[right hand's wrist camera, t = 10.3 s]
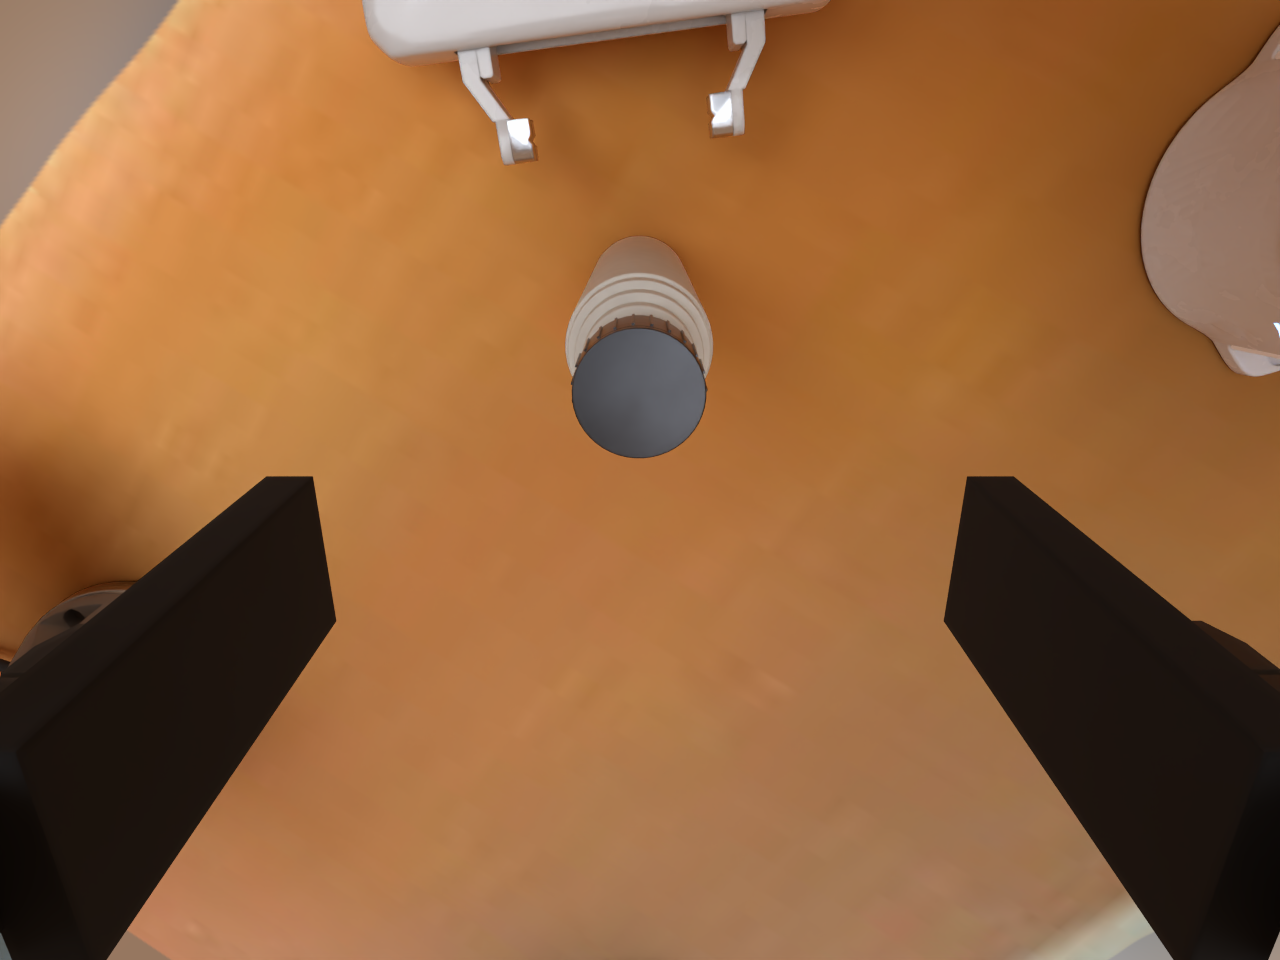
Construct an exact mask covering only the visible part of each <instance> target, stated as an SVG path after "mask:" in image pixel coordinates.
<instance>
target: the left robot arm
mask: <svg viewBox="0 0 1280 960" xmlns="http://www.w3.org/2000/svg"><path fill="white" fill-rule="evenodd" d="M830 1H831V0H362V4H363V10H364V16H365V21H366V26H367V30H368V33H369V36H370V38H371V39H372V41H373V42H374V43H375V44H376V45H377V46H378V47H379V48H380V49H381V50H382V51H383V52H384V53H385V54H386V55H387V56H388V57H390V58H391V59H392V60H394V61H396V62H398V63H400V64H403V65H406V66H410V67H415V66H424V65H431V64H438V63H446V62H453V61H459V64H460V70H461V75H462V81H463V83H464V84H465V86H466V87H467V88H468V90H469V91H470V92H471V94H472V95H473V96H474V98H475V99H476V100H477V102H478V103H479V104H480V106H481V107H482V108H483V110H484V111H485V112H486V114H487V115H488V116H489V118H490V119H491V120H492V122H494V123H496V128H497V134H498V140H499V146H500V151H501V157H502V160H503V163H504V165H514V164H522V163H528V162H535V161H538V150H537V146H536V145H535V143H534V142H533V140H534V138H535V130H534V124H533V120H530V119H529V118H524V119H515V120H514V119H513V117H512V116H511V114H510V113H509V112H508V110H507V109H506V108H505V106H504V105H503V103H502V102H501V101H500V99H499V98H498V96H497V95H496V94H495V92H494V91H493V89H492V88H491V87H490V85H489V82H490V83H492V84H494V83H500V81H501V73H500V67H499V60H498V55H504V54H512V53H519V52H526V51H534V50H541V49H548V48H556V47H563V46H570V45H578V44H585V43H592V42H600V41H607V40H614V39H622V38H629V37H636V36H644V35H651V34H658V33H666V32H673V31H680V30H688V29H695V28H702V27H710V26H717V25H724V24H726V28H727V40H728V49H729V50H730V51H739V49H740V48H741V53H740V56H739V58H738V61H737V63H736V66H735V68H734V70H733V73H732V75H731V78H730V80H729V82H728V85H727V87H726V90H725V92H719V93H713V94H709V95H708V96H707V98H706V99H707V113H708V115H709V116H710V117H711V120H710V122H709V124H708V125H709V135H710V139H713V138H723V137H731V136H738V135H743V134H744V129H745V121H744V105H743V90H744V89H745V88H746V86H747V83H748V81H749V79H750V76H751V74H752V72H753V69H754V67H755V65H756V62H757V60H758V58H759V55H760V53H761V51H762V48H763V46H764V44H765V42H766V40H765V20H764V19H768V18H776V17H783V16H790V15H798V14H805V13H812V12H816V11H818V10H820V9H822V8H823V7H824V6H825V5H827V4H828V3H829V2H830ZM1141 248H1142V256H1143V262H1144V266H1145V270H1146V273H1147V276H1148V279H1149V281H1150V283H1151V286H1152V287H1153V289H1154V291H1155V293H1156V295H1157V296H1158V298H1159V299H1160V300H1161V302H1162V303H1163V304H1164V305H1165V307H1166V308H1167V309H1168V310H1169V311H1170V312H1171V313H1172V314H1174V315H1175V316H1176V317H1177V318H1178V319H1180V320H1181V321H1183V322H1184V323H1186V324H1187V325H1189V326H1191V327H1193V328H1195V329H1196V330H1198V331H1200V332H1202V333H1203V334H1205V335H1206V336H1207V337H1209V338H1210V339H1211V340H1212V341H1213V343H1214V344H1215V346H1216V348H1217V350H1218V352H1219V353H1220V355H1221V357H1222V358H1223V360H1224V361H1225V363H1226V364H1227V365H1228V367H1229V368H1230V369H1231V370H1232V371H1234V372H1235V373H1238V374H1241V375H1247V376H1253V377H1257V376H1263V375H1267V374H1270V373H1274V372H1277V371H1280V25H1279V26H1278V28H1277V29H1276V30H1275V31H1274V33H1273V34H1272V35H1271V37H1270V38H1269V40H1268V41H1267V43H1266V44H1265V45H1264V47H1263V48H1262V50H1261V51H1260V53H1259V54H1258V56H1257V57H1256V59H1255V60H1254V62H1253V63H1252V64H1251V65H1250V66H1249V67H1248V68H1247V69H1246V70H1245V71H1244V72H1243V73H1242V74H1241V75H1239V76H1238V77H1237V78H1236V79H1235V80H1233V81H1232V82H1231V83H1229V84H1228V85H1227V86H1225V87H1224V88H1223V89H1222V90H1220V91H1219V92H1218V93H1216V94H1215V95H1214V96H1213V97H1212V98H1210V99H1209V100H1208V101H1207V102H1206V103H1205V104H1204V105H1203V106H1202V107H1201V108H1199V109H1198V110H1197V111H1196V113H1195V114H1194V115H1193V116H1192V117H1191V118H1190V119H1189V120H1188V121H1187V123H1186V124H1185V125H1184V126H1183V127H1182V129H1181V130H1180V131H1179V133H1178V134H1177V135H1176V137H1175V138H1174V139H1173V141H1172V142H1171V144H1170V146H1169V147H1168V149H1167V150H1166V152H1165V154H1164V156H1163V157H1162V159H1161V161H1160V163H1159V165H1158V167H1157V169H1156V172H1155V174H1154V176H1153V179H1152V181H1151V184H1150V187H1149V190H1148V193H1147V197H1146V201H1145V205H1144V210H1143V216H1142V224H1141Z"/></svg>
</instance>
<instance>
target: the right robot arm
mask: <svg viewBox="0 0 1280 960" xmlns="http://www.w3.org/2000/svg"><path fill="white" fill-rule="evenodd" d="M335 622H336V617H335V610H334V604H333V598H332V592H331V586H330V580H329V573H328V567H327V561H326V555H325V549H324V543H323V536H322V530H321V524H320V518H319V512H318V506H317V499H316V493H315V487H314V481H313V477H265V478H264V479H263V480H262V481H260V482H259V483H258V484H257V485H255V486H254V487H253V488H252V489H250V490H249V491H248V492H247V493H246V494H244V495H243V496H242V497H241V498H239V499H238V500H237V501H236V502H234V503H233V504H232V505H231V506H229V507H228V508H227V509H226V510H225V511H223V512H222V513H221V514H220V515H218V516H217V517H216V518H215V519H213V520H212V521H211V522H210V523H209V524H207V525H206V526H205V527H204V528H202V529H201V530H200V531H199V532H197V533H196V534H195V535H194V536H193V537H191V538H190V539H189V540H188V541H186V542H185V543H184V544H183V545H181V546H180V547H179V548H178V549H176V550H175V551H174V552H173V553H172V554H170V555H169V556H168V557H167V558H165V559H164V560H163V561H162V562H160V563H159V564H158V565H157V566H156V567H154V568H153V569H152V570H151V571H149V572H148V573H147V574H146V575H144V576H143V577H142V578H141V579H140V580H138V581H137V582H124V581H123V582H110V583H104V584H99V585H95V586H91V587H88V588H86V589H83V590H81V591H79V592H77V593H75V594H73V595H71V596H70V597H68V598H66V599H65V600H64V601H62V602H61V603H59V604H58V605H57V606H55V607H54V608H53V609H51V610H50V611H49V612H48V613H46V614H45V615H44V616H43V617H42V618H41V619H40V620H39V621H38V622H37V623H36V625H35V626H34V627H33V628H32V629H31V630H30V632H29V633H28V634H27V636H26V637H25V639H24V641H23V642H22V644H21V646H20V647H19V649H18V651H17V652H16V654H15V656H14V658H13V659H12V661H11V662H9V661H6V660H3V659H0V671H1V677H0V960H107V958H108V957H109V955H110V954H111V952H112V951H113V949H114V948H115V946H116V945H117V943H118V942H119V941H120V939H121V938H122V936H123V935H124V933H125V932H126V930H127V929H128V927H129V926H130V924H131V923H132V921H133V920H134V918H135V917H136V915H137V914H138V913H139V911H140V910H141V908H142V907H143V905H144V904H145V902H146V901H147V899H148V898H149V896H150V895H151V893H152V892H153V890H154V889H155V887H156V886H157V885H158V883H159V882H160V880H161V879H162V877H163V876H164V874H165V873H166V871H167V870H168V868H169V867H170V865H171V864H172V862H173V861H174V859H175V858H176V857H177V855H178V854H179V852H180V851H181V849H182V848H183V846H184V845H185V843H186V842H187V840H188V839H189V837H190V836H191V834H192V833H193V831H194V830H195V828H196V827H197V826H198V824H199V823H200V821H201V820H202V818H203V817H204V815H205V814H206V812H207V811H208V809H209V808H210V806H211V805H212V803H213V802H214V800H215V799H216V798H217V796H218V795H219V793H220V792H221V790H222V789H223V787H224V786H225V784H226V783H227V781H228V780H229V778H230V777H231V775H232V774H233V772H234V771H235V770H236V768H237V767H238V765H239V764H240V762H241V761H242V759H243V758H244V756H245V755H246V753H247V752H248V750H249V749H250V747H251V746H252V744H253V743H254V742H255V740H256V739H257V737H258V736H259V734H260V733H261V731H262V730H263V728H264V727H265V725H266V724H267V722H268V721H269V719H270V718H271V716H272V715H273V714H274V712H275V711H276V709H277V708H278V706H279V705H280V703H281V702H282V700H283V699H284V697H285V696H286V694H287V693H288V691H289V690H290V688H291V687H292V686H293V684H294V683H295V681H296V680H297V678H298V677H299V675H300V674H301V672H302V671H303V669H304V668H305V666H306V665H307V663H308V662H309V660H310V659H311V658H312V656H313V655H314V653H315V652H316V650H317V649H318V647H319V646H320V644H321V643H322V641H323V640H324V638H325V637H326V635H327V634H328V632H329V631H330V630H331V628H332V627H333V625H334V624H335ZM944 622H945V624H946V625H947V627H948V628H949V630H950V631H951V632H952V634H953V635H954V637H955V638H956V640H957V641H958V643H959V644H960V646H961V647H962V649H963V650H964V652H965V653H966V655H967V656H968V658H969V659H970V660H971V662H972V663H973V665H974V666H975V668H976V669H977V671H978V672H979V674H980V675H981V677H982V678H983V680H984V681H985V683H986V684H987V686H988V687H989V688H990V690H991V691H992V693H993V694H994V696H995V697H996V699H997V700H998V702H999V703H1000V705H1001V706H1002V708H1003V709H1004V711H1005V712H1006V714H1007V715H1008V716H1009V718H1010V719H1011V721H1012V722H1013V724H1014V725H1015V727H1016V728H1017V730H1018V731H1019V733H1020V734H1021V736H1022V737H1023V739H1024V740H1025V742H1026V743H1027V744H1028V746H1029V747H1030V749H1031V750H1032V752H1033V753H1034V755H1035V756H1036V758H1037V759H1038V761H1039V762H1040V764H1041V765H1042V767H1043V768H1044V770H1045V771H1046V772H1047V774H1048V775H1049V777H1050V778H1051V780H1052V781H1053V783H1054V784H1055V786H1056V787H1057V789H1058V790H1059V792H1060V793H1061V795H1062V796H1063V798H1064V799H1065V800H1066V802H1067V803H1068V805H1069V806H1070V808H1071V809H1072V811H1073V812H1074V814H1075V815H1076V817H1077V818H1078V820H1079V821H1080V823H1081V824H1082V826H1083V827H1084V828H1085V830H1086V831H1087V833H1088V834H1089V836H1090V837H1091V839H1092V840H1093V842H1094V843H1095V845H1096V846H1097V848H1098V849H1099V851H1100V852H1101V854H1102V855H1103V856H1104V858H1105V859H1106V861H1107V862H1108V864H1109V865H1110V867H1111V868H1112V870H1113V871H1114V873H1115V874H1116V876H1117V877H1118V879H1119V880H1120V882H1121V883H1122V884H1123V886H1124V887H1125V889H1126V890H1127V892H1128V893H1129V895H1130V896H1131V898H1132V899H1133V901H1134V902H1135V904H1136V905H1137V907H1138V908H1139V910H1140V911H1141V913H1142V914H1143V915H1144V917H1145V918H1146V920H1147V921H1148V923H1149V924H1150V926H1151V927H1152V929H1153V930H1154V932H1155V933H1156V935H1157V936H1158V938H1159V939H1160V941H1161V942H1162V943H1163V945H1164V946H1165V948H1166V949H1167V951H1168V952H1169V954H1170V955H1171V957H1172V958H1173V960H1268V959H1269V957H1270V954H1271V952H1272V949H1273V947H1274V944H1275V942H1276V939H1277V937H1278V935H1279V932H1280V669H1279V668H1278V667H1276V666H1275V665H1274V664H1272V663H1271V662H1270V661H1269V660H1267V659H1266V658H1265V657H1263V656H1262V655H1261V654H1259V653H1258V652H1257V651H1256V650H1254V649H1253V648H1252V647H1250V646H1249V645H1248V644H1247V643H1245V642H1243V641H1241V640H1239V639H1237V638H1235V637H1233V636H1231V635H1229V634H1227V633H1225V632H1223V631H1221V630H1219V629H1217V628H1215V627H1213V626H1211V625H1209V624H1207V623H1205V622H1203V621H1191V620H1190V619H1189V618H1187V617H1186V616H1185V615H1184V614H1182V613H1181V612H1180V611H1179V610H1177V609H1176V608H1175V607H1174V606H1173V605H1171V604H1170V603H1169V602H1168V601H1166V600H1165V599H1164V598H1163V597H1161V596H1160V595H1159V594H1158V593H1156V592H1155V591H1154V590H1153V589H1152V588H1150V587H1149V586H1148V585H1147V584H1145V583H1144V582H1143V581H1142V580H1140V579H1139V578H1138V577H1137V576H1136V575H1134V574H1133V573H1132V572H1131V571H1129V570H1128V569H1127V568H1126V567H1124V566H1123V565H1122V564H1121V563H1120V562H1118V561H1117V560H1116V559H1115V558H1113V557H1112V556H1111V555H1110V554H1108V553H1107V552H1106V551H1105V550H1104V549H1102V548H1101V547H1100V546H1099V545H1097V544H1096V543H1095V542H1094V541H1092V540H1091V539H1090V538H1089V537H1087V536H1086V535H1085V534H1084V533H1083V532H1081V531H1080V530H1079V529H1078V528H1076V527H1075V526H1074V525H1073V524H1071V523H1070V522H1069V521H1068V520H1067V519H1065V518H1064V517H1063V516H1062V515H1060V514H1059V513H1058V512H1057V511H1055V510H1054V509H1053V508H1052V507H1051V506H1049V505H1048V504H1047V503H1046V502H1044V501H1043V500H1042V499H1041V498H1039V497H1038V496H1037V495H1036V494H1035V493H1033V492H1032V491H1031V490H1030V489H1028V488H1027V487H1026V486H1025V485H1023V484H1022V483H1021V482H1020V481H1018V480H1017V479H1016V478H1015V477H967V481H966V487H965V493H964V499H963V506H962V512H961V518H960V524H959V530H958V536H957V543H956V549H955V555H954V561H953V567H952V573H951V580H950V586H949V592H948V598H947V604H946V610H945V617H944Z"/></svg>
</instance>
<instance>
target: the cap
mask: <svg viewBox="0 0 1280 960" xmlns="http://www.w3.org/2000/svg"><path fill="white" fill-rule="evenodd" d="M575 367H576V370H575V372H574V375H573V378H572V381H571V385H572V403H573V408H574V411H575V414H576V417H577V419H578V421H579V423H580V425H581V426H582V428H583V430H584V431H585V432H586V433H587V435H588V436H589V437H590V438H591V439H592V440H593V441H594V442H595V443H597V444H598V445H599V446H601V447H602V448H604V449H606V450H608V451H609V452H612V453H614V454H617V455H620V456H624V457H630V458H648V457H654V456H658V455H661V454H664V453H666V452H669V451H671V450H672V449H674V448H676V447H677V446H679V445H680V444H682V443H683V442H684V441H685V440H686V439H687V438H688V437H689V436H690V435H691V434H692V432H693V431H694V430H695V428H696V427H697V425H698V424H699V421H700V419H701V417H702V415H703V411H704V408H705V402H706V391H707V386H706V383H705V378H704V374H705V370H704V367H703V364H702V361H701V359H699V358H698V354H697V351H696V347H695V345H694V343H693V344H692V343H691V342H690V341H689V339H688V338H687V337H686V336H685V334H684V331H683V330H681V331H680V330H679V329H678V328H676V327H675V326H674V325H672V324H670V321H668V320H667V321H664V320H662V319H660V318H656V317H653V315H650V316H645V315H635V314H632V316H626V317H622V318H619V319H618V318H615V320H614V321H611V322H610V323H608V324H606V325H604V326H603V327H602V326H600V327H599V330H598V331H597V332H596V333H595V334H594V335H593V336H592V337H591V338H588V339H587V341H586V344H585V347H584V349H583V351H582V353H579V356H578V359H577V362H576V365H575Z"/></svg>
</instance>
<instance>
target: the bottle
mask: <svg viewBox="0 0 1280 960" xmlns="http://www.w3.org/2000/svg"><path fill="white" fill-rule="evenodd" d="M632 314H635V315H645V316H650V315H653V317H656V318H660V319H662V320H664V321H667V320H668V321H670V324H672V325H674V326H675V327H676V328H678V329H679V330H680V331H681V330H683V331H684V334H685V336H686V337H687V338H688V339H689V341H690V342H691V343H692V344H693V343H694V345H695V347H696V351H697V354H698V358H699V359H701V361H702V364H703V367H704V370H705V374H704V378H706V376H707V374H708V371H709V368H710V365H711V361H712V355H713V337H712V331H711V327H710V323H709V320H708V318H707V315H706V313H705V311H704V309H703V307H702V305H701V302H700V300H699V298H698V296H697V294H696V292H695V290H694V287H693V285H692V283H691V281H690V279H689V277H688V275H687V273H686V270H685V268H684V266H683V264H682V262H681V260H680V259H679V257H678V256H677V254H676V253H675V252H674V251H673V250H672V249H671V248H670V247H669V246H668V245H666V244H665V243H663V242H662V241H660V240H657V239H655V238H651V237H647V236H632V237H627V238H624V239H622V240H619V241H617V242H616V243H614V244H612V245H611V246H610V247H609V248H608V249H607V250H606V251H605V252H604V253H603V254H602V255H601V257H600V258H599V260H598V262H597V264H596V266H595V268H594V270H593V272H592V274H591V276H590V278H589V281H588V283H587V285H586V287H585V289H584V291H583V293H582V295H581V297H580V299H579V301H578V304H577V306H576V308H575V310H574V312H573V314H572V316H571V319H570V322H569V324H568V328H567V333H566V342H565V348H566V358H567V363H568V366H569V370H570V373H571V375H572V377H573V375H574V372H575V370H576V367H575V365H576V362H577V359H578V356H579V353H582V351H583V349H584V347H585V344H586V341H587V339H588V338H591V337H592V336H593V335H594V334H595V333H596V332H597V331H598V330H599V327H600V326H602V327H603V326H604V325H606V324H608V323H610V322H611V321H614V320H615V318H618V319H619V318H622V317H626V316H632Z"/></svg>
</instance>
